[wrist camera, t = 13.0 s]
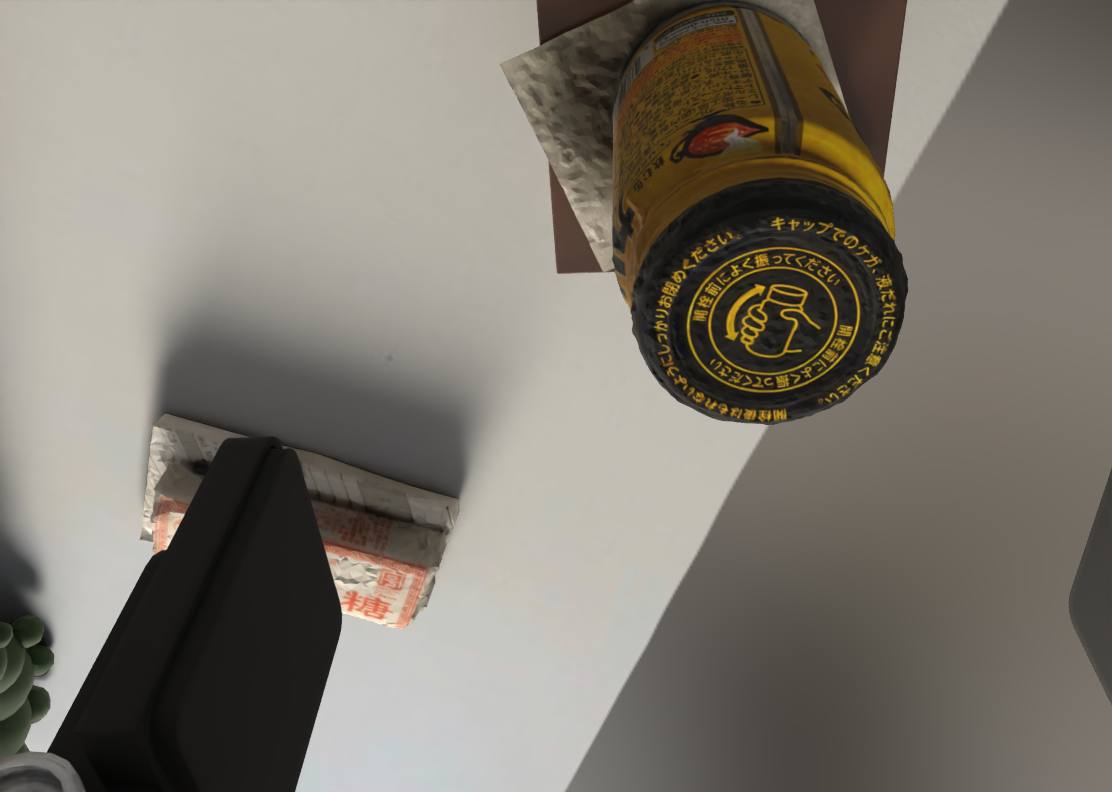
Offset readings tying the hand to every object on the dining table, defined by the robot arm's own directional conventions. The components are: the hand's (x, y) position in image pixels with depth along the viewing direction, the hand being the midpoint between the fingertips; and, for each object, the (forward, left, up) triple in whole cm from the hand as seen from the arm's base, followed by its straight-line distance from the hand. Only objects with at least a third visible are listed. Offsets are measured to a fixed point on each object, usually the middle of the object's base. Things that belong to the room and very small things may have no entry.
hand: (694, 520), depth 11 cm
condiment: (+2, +1, -20) cm, 20 cm away
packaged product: (+32, -21, -36) cm, 52 cm away
